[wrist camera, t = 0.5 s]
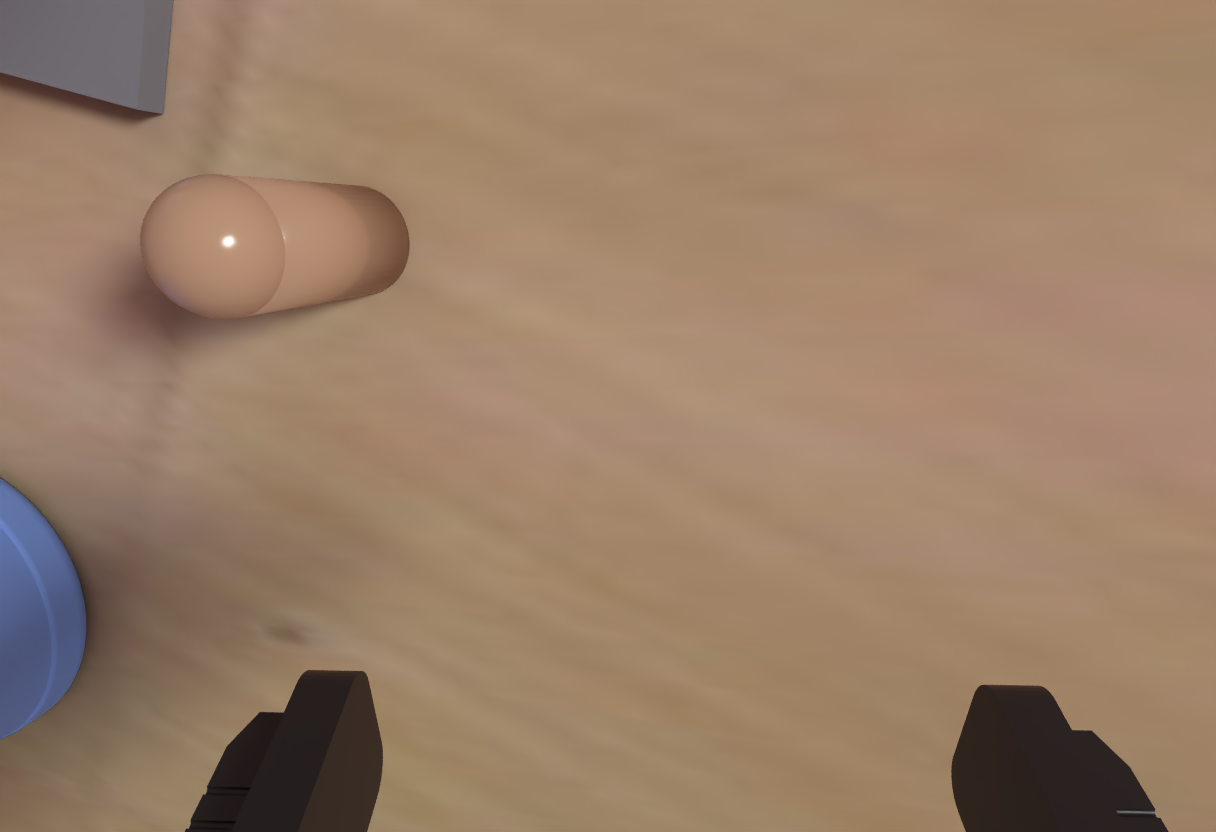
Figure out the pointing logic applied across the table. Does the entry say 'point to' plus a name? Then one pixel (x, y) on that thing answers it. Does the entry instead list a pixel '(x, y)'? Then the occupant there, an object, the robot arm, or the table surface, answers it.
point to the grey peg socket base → (90, 47)
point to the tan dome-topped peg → (270, 244)
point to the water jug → (35, 614)
